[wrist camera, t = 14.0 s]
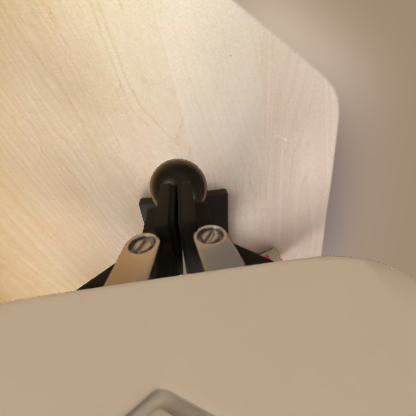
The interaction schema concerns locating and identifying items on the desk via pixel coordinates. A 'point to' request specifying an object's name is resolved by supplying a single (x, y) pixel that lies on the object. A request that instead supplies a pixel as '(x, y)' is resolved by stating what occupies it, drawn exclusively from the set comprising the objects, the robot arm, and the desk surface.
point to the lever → (179, 181)
